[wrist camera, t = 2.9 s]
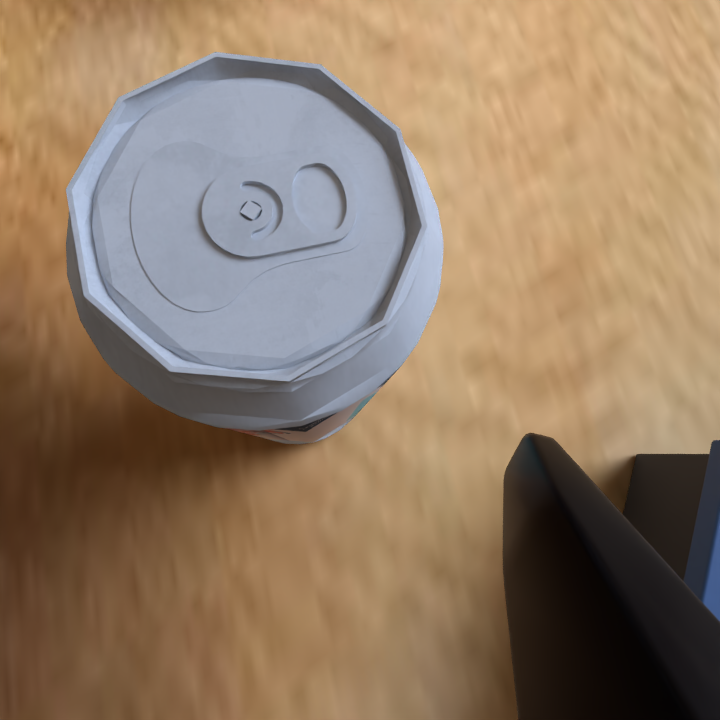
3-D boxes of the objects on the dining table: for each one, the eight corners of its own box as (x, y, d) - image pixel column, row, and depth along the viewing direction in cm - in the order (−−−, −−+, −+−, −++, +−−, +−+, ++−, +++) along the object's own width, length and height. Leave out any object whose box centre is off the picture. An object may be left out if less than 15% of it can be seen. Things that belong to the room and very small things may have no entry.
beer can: (212, 319, 18) (-5, 52, 6) (350, 290, 18) (403, -10, 6) (241, 460, 17) (58, 478, 5) (384, 425, 17) (513, 369, 6)
